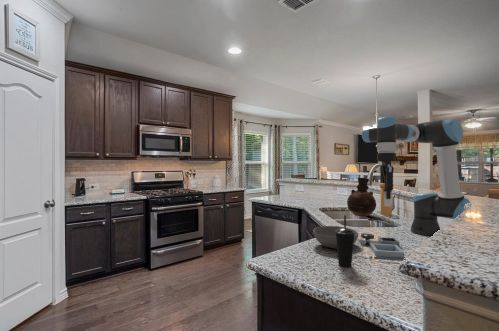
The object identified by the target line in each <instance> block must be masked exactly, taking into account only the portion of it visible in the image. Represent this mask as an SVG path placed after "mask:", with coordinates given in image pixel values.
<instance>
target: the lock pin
mask: <svg viewBox="0 0 499 331" xmlns="http://www.w3.org/2000/svg"><path fill="white" fill-rule="evenodd" d="M378 186H379V187H380V186H381V188H380V215H381V216H393V214H392V213H393V211H392V210H393V209H392V208H393V201H392V200H393V190H392V191H391V207H388V206H384V191H383V190H385V183H380V182H379V183H378Z"/></svg>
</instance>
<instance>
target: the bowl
mask: <svg viewBox="0 0 499 331" xmlns="http://www.w3.org/2000/svg"><path fill="white" fill-rule="evenodd" d="M340 228H344V226H336V225H335V226H334V225H329V226H328V225H323V226H317V227H315V228H313V230H312V233H313V236H314V238H315V239H316V241H317V242H318V243H320V244H321V245H322V246H323V247H327V248H329V249H336V250H337V240H336V233H335V230H337V229H340ZM347 228H348V229H351V230H353V231H355V234H354V244H355V243H356V242H357V241H358V240H359V239H358V238H359V232H358V231H357V230H355V229H352V228H349V227H347Z"/></svg>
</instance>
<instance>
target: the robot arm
mask: <svg viewBox="0 0 499 331" xmlns="http://www.w3.org/2000/svg"><path fill="white" fill-rule="evenodd" d="M462 126H463V125H462V124H461V123H460V122H459V120H457V119H453V118H451V119H450V118H449V119H441V120H440V119H439V120H436V121H435V120H433V121H426V122H425V121H424V122H421V123H416V124H407V123H400V122H399V123H398V122H397V119H396V116H383V117H382V116H381V117H379V118H378V119H377V124H376V126H371V127H370V126H369V127H364V129H363V130H362V132H361V138H362V140H363V142H365V143H376V145H375V147H376V149H377V150H376V152H378V153H376V160H377V162H381V165H380V167H379V176H380V177H379V179H380V180H379V183H385V190H383V191H384V206H388V207H391V191H392V192H393V190H394V170H395V168H394V167H393V166H392V162H396V161H397V153H396V152H397V142H401V141H402V142H403V141H404V142H406V143H419V144H431V146H432V148H434V149H435V152H436V161H437V169H438V179H439V187H440V192H439V193H435V192H434V193H433V192H432V193H430V192H429V193H417V194H415V195H414V198H413V221H412V222H411V225H410V232H411V233H412V234H413V233H414V234H416V235H422V236H423V235H424V236H429V237H430V236H432V235H433V234H434V233H435V232H437V231H438V230H440V229H441V227H440V224H439V221H438V218H442V219H443V218H445V219H449V220H454V219H455V218H456V217H457V216H458V215H460V214H461V213H462V212H463V211H464V206H465V204H467V203H470V204H471V200H470V199H469V198H466V197H465V193H464V192H462V191H461V187H460V177H459V168H458V166H459V165H458V157H457V156H458V155H457V151H456V150H457V147H458V146H459V144H460V142H461V141H462V140H463V139H464V137H463V136H464V131H463V130H464V129H463V127H462ZM379 187H380V189H381V186H379ZM455 220H456V219H455Z"/></svg>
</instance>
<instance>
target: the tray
mask: <svg viewBox="0 0 499 331" xmlns="http://www.w3.org/2000/svg"><path fill="white" fill-rule="evenodd" d="M369 248H370V250H371V251H372V253H373V255H374V256H373V258H374V259H375V260H380V261H381V260H382V261H383V260H384V261H395V262H397V261H399V262H403V261H402V260H403V259H405V251H403V249H400V248H399V247H398V246H397V245H389V244H372V243H370V247H369Z"/></svg>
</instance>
